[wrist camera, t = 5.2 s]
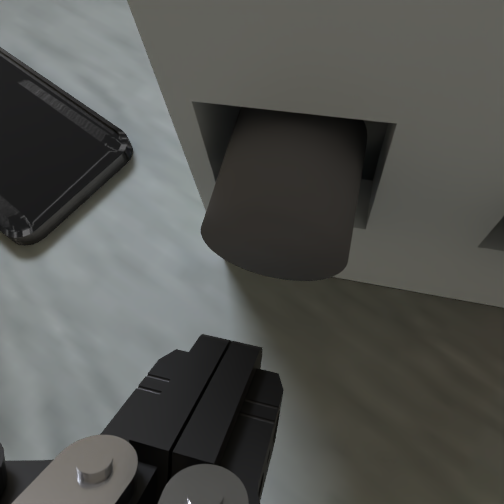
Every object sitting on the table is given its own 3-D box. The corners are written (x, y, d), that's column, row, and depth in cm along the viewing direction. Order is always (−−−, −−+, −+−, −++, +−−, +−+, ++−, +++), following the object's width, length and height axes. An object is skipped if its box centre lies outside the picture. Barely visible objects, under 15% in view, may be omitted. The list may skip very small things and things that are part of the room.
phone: (17, 246, 20) (-127, 108, 25) (30, 257, 21) (-110, 122, 26) (138, 139, 22) (-17, 33, 27) (145, 153, 23) (-6, 48, 28)
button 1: (340, 290, 13) (357, 224, 9) (215, 266, 14) (185, 198, 10) (358, 182, 14) (378, 90, 11) (245, 166, 15) (228, 76, 12)
